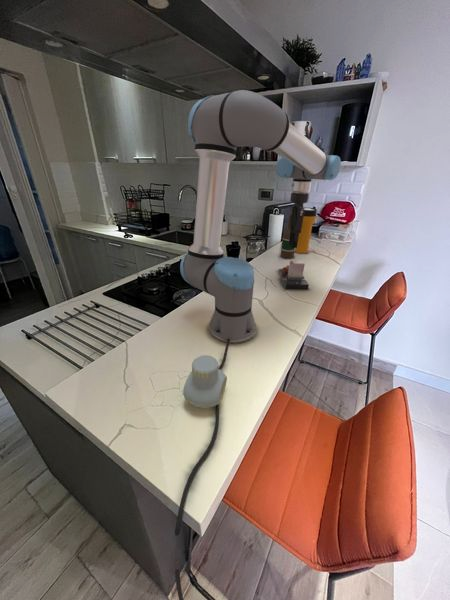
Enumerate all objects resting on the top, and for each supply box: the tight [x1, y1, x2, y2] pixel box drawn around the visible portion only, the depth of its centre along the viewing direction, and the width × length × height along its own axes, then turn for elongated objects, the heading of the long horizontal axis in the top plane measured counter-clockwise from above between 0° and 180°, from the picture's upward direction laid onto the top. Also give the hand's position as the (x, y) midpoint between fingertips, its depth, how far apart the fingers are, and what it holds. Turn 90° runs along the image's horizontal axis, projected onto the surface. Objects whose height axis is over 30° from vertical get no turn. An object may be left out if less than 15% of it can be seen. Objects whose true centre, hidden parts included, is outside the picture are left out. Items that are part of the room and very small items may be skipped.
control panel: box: [280, 274, 310, 291], centre depth 117 cm, size 11×10×3 cm
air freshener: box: [182, 354, 228, 409], centre depth 59 cm, size 11×8×10 cm
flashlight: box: [294, 207, 318, 254], centre depth 154 cm, size 10×26×10 cm
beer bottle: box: [280, 213, 296, 260], centre depth 145 cm, size 8×8×24 cm
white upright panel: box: [287, 260, 305, 280], centre depth 114 cm, size 6×2×8 cm, turn 90°
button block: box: [278, 266, 288, 276], centre depth 126 cm, size 10×8×3 cm
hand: (292, 246), depth 120 cm, fingers open, 4 cm apart
